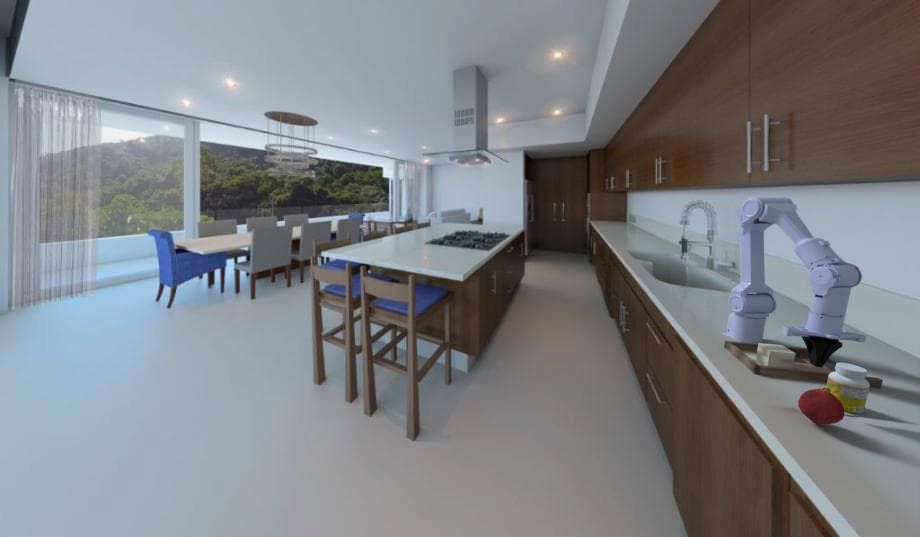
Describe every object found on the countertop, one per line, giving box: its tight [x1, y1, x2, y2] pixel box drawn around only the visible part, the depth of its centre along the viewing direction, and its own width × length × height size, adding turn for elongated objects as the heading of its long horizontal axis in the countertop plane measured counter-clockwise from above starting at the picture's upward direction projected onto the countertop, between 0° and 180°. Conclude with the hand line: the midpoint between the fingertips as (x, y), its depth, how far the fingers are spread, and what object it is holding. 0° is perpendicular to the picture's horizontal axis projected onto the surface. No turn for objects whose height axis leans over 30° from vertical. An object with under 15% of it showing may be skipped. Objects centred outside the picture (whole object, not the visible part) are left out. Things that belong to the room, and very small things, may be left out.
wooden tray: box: [723, 340, 883, 389], centre depth 82 cm, size 16×23×3 cm
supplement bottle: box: [825, 362, 871, 418], centre depth 65 cm, size 5×5×10 cm
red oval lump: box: [797, 386, 845, 426], centre depth 61 cm, size 6×6×8 cm
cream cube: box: [756, 342, 795, 369], centre depth 81 cm, size 5×5×5 cm
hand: (816, 365), depth 79 cm, fingers closed
